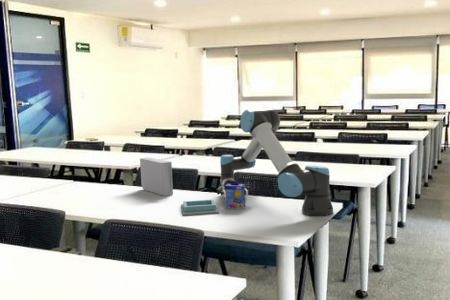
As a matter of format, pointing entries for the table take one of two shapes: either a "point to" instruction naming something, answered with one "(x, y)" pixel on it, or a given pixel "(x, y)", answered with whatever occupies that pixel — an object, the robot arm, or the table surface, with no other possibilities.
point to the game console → (156, 176)
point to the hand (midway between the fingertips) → (236, 194)
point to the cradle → (199, 207)
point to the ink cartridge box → (235, 195)
